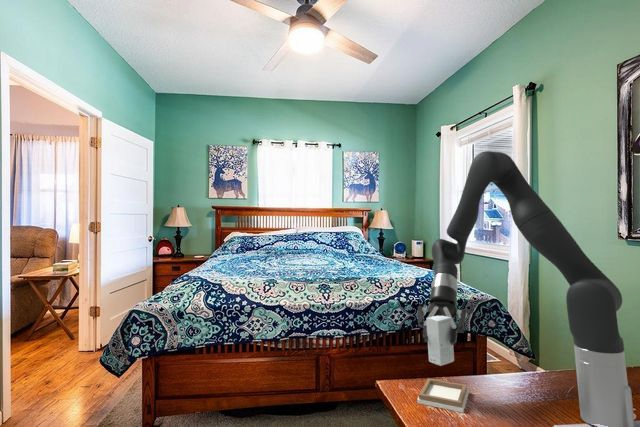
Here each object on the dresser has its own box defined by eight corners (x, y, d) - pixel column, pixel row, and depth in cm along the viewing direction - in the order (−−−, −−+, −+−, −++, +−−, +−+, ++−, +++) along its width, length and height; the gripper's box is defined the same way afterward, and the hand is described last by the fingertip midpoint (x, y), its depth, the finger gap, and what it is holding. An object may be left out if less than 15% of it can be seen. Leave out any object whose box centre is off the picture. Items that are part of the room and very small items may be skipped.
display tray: (468, 392, 95) (468, 384, 95) (463, 412, 85) (462, 403, 85) (427, 385, 101) (426, 377, 101) (417, 403, 91) (417, 394, 91)
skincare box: (441, 366, 90) (438, 321, 91) (427, 361, 94) (425, 317, 95) (455, 361, 93) (452, 317, 94) (441, 356, 97) (439, 314, 98)
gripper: (417, 283, 105) (409, 332, 94) (467, 285, 98) (465, 338, 87) (422, 297, 109) (415, 345, 98) (470, 300, 102) (468, 352, 91)
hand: (439, 341), depth 93 cm, fingers closed on skincare box, 6 cm apart
